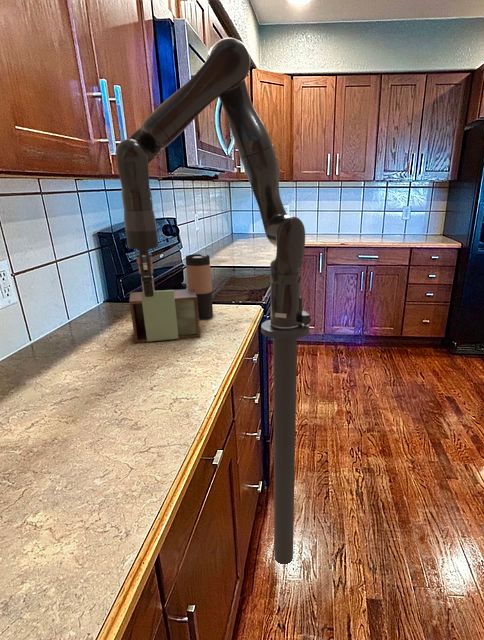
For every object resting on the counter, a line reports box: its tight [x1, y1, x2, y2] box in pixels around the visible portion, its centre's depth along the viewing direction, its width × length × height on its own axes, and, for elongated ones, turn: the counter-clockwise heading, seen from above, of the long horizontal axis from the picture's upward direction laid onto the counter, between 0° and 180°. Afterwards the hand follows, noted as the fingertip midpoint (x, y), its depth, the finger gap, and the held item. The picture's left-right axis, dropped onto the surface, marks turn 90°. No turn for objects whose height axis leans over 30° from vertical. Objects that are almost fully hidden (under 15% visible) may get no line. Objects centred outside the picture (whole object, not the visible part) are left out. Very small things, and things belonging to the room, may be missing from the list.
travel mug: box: [185, 253, 214, 321], centre depth 137 cm, size 8×8×20 cm
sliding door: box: [140, 275, 179, 342], centre depth 115 cm, size 9×2×18 cm, turn 108°
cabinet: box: [128, 288, 201, 344], centre depth 122 cm, size 18×10×12 cm, turn 108°
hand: (149, 295), depth 113 cm, fingers closed on sliding door, 2 cm apart
